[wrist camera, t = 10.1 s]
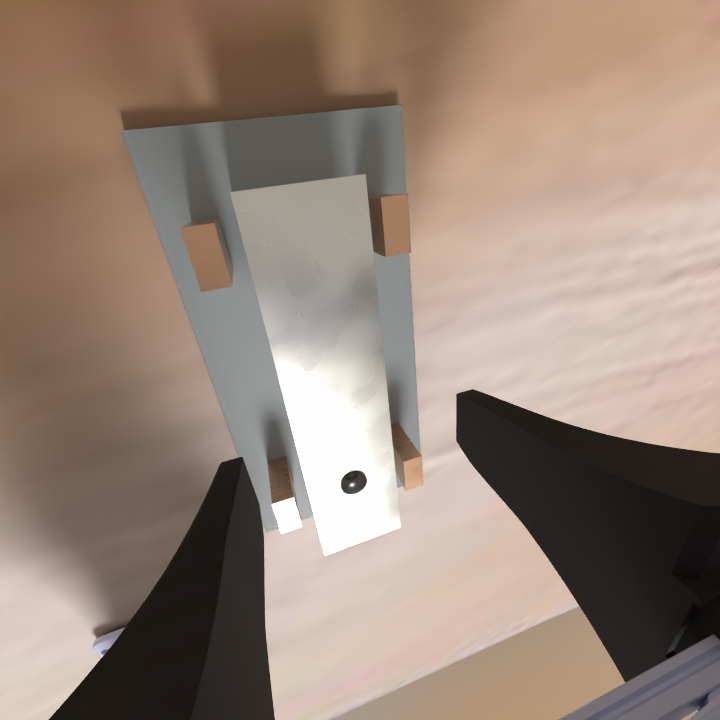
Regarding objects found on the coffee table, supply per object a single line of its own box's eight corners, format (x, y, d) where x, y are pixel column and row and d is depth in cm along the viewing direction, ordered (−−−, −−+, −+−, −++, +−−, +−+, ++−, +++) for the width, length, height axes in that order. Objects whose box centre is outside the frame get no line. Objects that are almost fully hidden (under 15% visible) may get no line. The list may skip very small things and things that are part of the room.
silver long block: (232, 192, 13) (229, 192, 10) (334, 178, 14) (366, 173, 11) (310, 494, 21) (325, 557, 17) (374, 473, 21) (402, 529, 18)
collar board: (418, 474, 23) (445, 516, 20) (265, 525, 21) (270, 580, 18) (395, 107, 14) (438, 84, 11) (125, 132, 12) (87, 112, 9)
